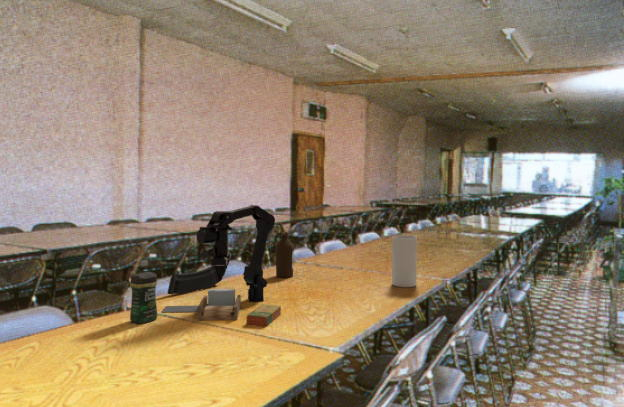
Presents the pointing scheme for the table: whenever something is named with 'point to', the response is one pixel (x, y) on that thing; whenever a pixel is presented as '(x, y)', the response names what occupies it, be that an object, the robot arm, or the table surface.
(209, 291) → the block
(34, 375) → the table surface
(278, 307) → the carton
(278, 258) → the olive oil
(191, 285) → the magazine
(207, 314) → the offcut stack
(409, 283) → the cylinder vase
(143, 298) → the coffee jar
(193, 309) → the mat
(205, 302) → the rack
